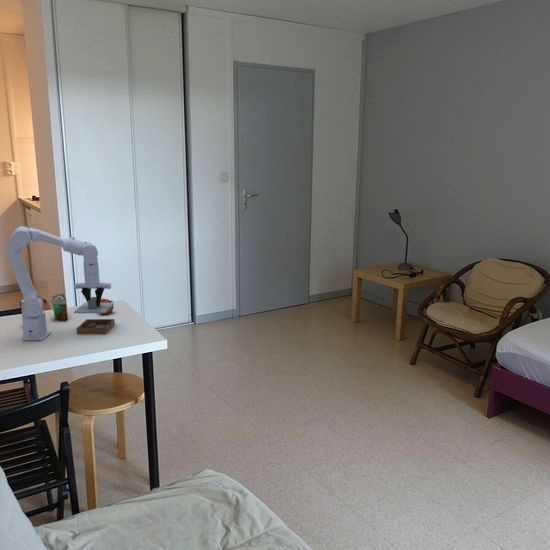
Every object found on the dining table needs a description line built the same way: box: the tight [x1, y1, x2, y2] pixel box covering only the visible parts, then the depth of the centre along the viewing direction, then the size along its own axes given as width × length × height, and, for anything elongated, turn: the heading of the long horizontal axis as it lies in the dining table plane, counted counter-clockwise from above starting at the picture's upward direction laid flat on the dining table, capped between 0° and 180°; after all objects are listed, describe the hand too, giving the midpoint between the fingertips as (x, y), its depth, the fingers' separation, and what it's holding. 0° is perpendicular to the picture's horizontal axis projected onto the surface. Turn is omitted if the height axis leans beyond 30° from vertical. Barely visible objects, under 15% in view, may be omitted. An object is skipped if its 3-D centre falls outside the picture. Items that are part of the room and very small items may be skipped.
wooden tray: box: [75, 318, 116, 335], centre depth 221 cm, size 12×12×2 cm
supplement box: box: [20, 299, 26, 324], centre depth 225 cm, size 6×6×12 cm
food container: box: [50, 292, 69, 322], centre depth 234 cm, size 12×6×10 cm, turn 25°
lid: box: [73, 296, 115, 314], centre depth 218 cm, size 12×12×5 cm
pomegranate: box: [100, 298, 115, 315], centre depth 241 cm, size 7×7×10 cm
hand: (94, 305), depth 218 cm, fingers closed on lid, 3 cm apart
